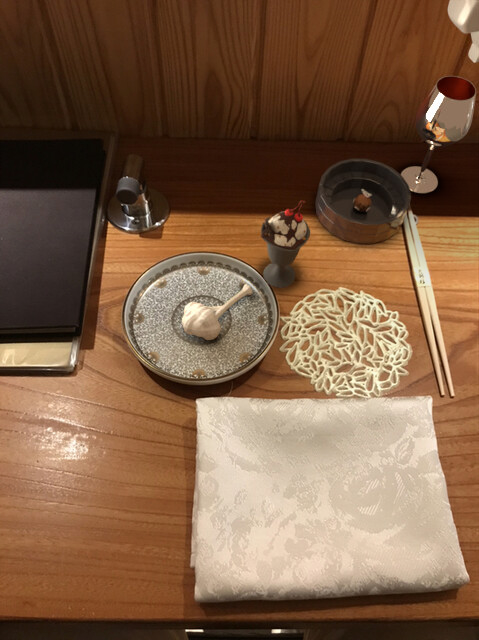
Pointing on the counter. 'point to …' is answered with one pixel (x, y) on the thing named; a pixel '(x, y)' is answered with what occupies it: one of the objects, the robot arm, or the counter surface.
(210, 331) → the garlic bulb
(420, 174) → the wineglass
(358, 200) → the chocolate
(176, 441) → the counter surface
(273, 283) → the sundae
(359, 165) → the bowl
